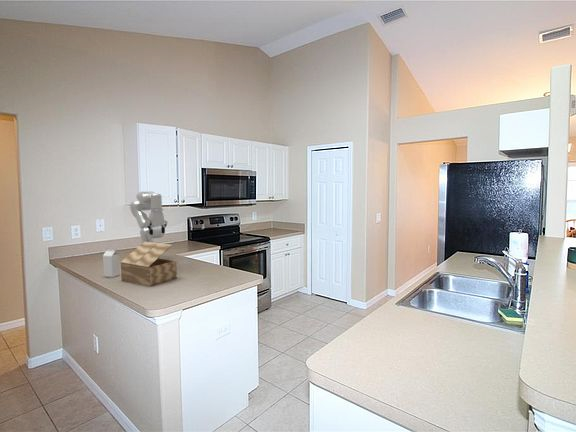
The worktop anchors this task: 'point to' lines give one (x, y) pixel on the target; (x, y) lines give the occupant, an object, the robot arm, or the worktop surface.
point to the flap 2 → (153, 255)
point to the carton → (149, 272)
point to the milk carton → (111, 263)
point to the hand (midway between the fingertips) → (157, 233)
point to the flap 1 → (139, 253)
